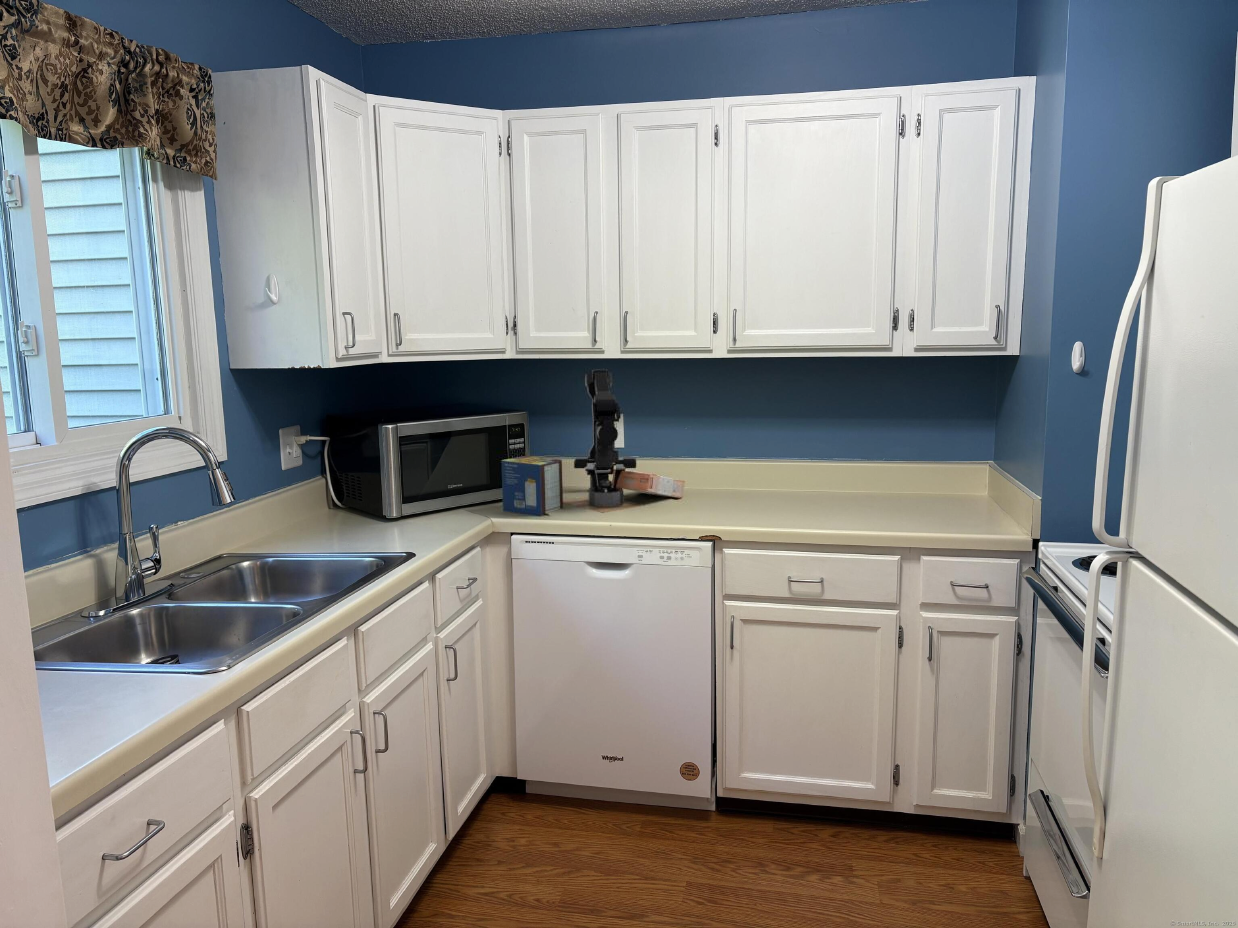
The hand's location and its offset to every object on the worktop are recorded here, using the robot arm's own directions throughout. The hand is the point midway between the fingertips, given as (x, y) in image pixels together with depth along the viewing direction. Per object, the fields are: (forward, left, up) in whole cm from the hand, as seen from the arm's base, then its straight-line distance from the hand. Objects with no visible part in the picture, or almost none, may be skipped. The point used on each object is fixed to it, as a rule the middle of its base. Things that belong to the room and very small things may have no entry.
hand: (605, 490), depth 262 cm
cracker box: (-2, +26, -2) cm, 26 cm away
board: (-2, 0, -5) cm, 5 cm away
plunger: (0, 0, -4) cm, 4 cm away
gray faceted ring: (-1, 0, -4) cm, 4 cm away
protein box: (-10, -20, -5) cm, 23 cm away
